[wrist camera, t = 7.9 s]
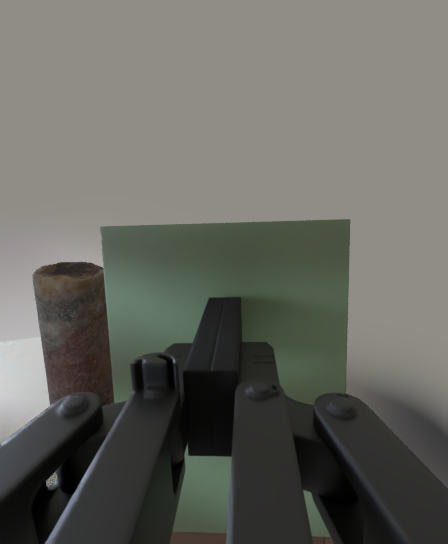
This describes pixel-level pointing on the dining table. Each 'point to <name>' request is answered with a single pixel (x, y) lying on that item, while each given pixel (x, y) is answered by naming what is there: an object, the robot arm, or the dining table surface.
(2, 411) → the dining table surface
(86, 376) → the candle
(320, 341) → the lid
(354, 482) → the robot arm
